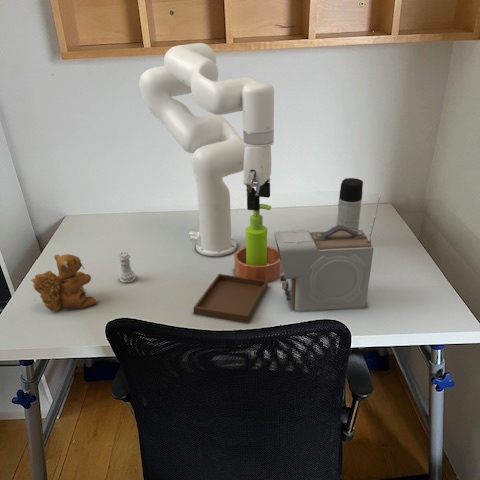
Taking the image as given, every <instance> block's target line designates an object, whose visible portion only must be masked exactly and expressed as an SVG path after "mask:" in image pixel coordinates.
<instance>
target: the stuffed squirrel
mask: <svg viewBox="0 0 480 480" xmlns="http://www.w3.org/2000/svg"><path fill="white" fill-rule="evenodd" d="M53 257H54V261H55V262H56V268H57V270H58V275H57V274H55V273H54V272H52V270H47V271H45V272H44V273H38V274H36V275H34V278H32V279H31V282H32V283H33V284H32V286H33V289H34V290H35V292H37V293H39V294H40V296H39V297H40V298H41V301H42V302H43V303H44V306H45V307H46V308H47V309H48V310H50V311H54V312H58V311H60V310H61V309H63V308H69V309H84V308H88V307H91V306H94V305H96V304H97V301H98V300H97V298H96V297H94V296H87V294H86V290H85V288H84V286H85V285H87V284H89V283H90V282H91V280H92V276H91V274H89V273H85V272H83V271H80V269H81V268H82V269H83V270H85V267H84V265H83V263H82V260H81V258H80V257H79V256H77V255H75V254H62V255H59V254H55V255H54V256H53Z"/></svg>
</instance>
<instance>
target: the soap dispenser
mask: <svg viewBox="0 0 480 480" xmlns="http://www.w3.org/2000/svg"><path fill="white" fill-rule="evenodd" d="M271 209H272V205H269V204H265V203H260V209H259V211H254V210H252V215H250V216H249V224H250V225H248V226H247V227H246V228H245V247H246V264H247V265H253V266H265V265H268V262H267V246H268V228H267V227H266V226H265V225H264V223H263V222H264V218H263V215H261V213H260V212H261V211H260V210H266V211H270V210H271Z"/></svg>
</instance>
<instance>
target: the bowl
mask: <svg viewBox="0 0 480 480" xmlns="http://www.w3.org/2000/svg"><path fill="white" fill-rule="evenodd" d="M233 259H234V274H235V275H234V276H237V277H244V278H251V279H258V280H265V281H268V283H269V282H274V281H275V280H277V279H278V278H280V274H281V273H283V270H282V266H281V263H280V259H279V254H278V249H277V247H276V248H275V247H273V246H270V245H267V265H265V266H253V265H247V264H246V246H245V247H242V248H240V249H238V250H237V251H235V254H234V258H233Z"/></svg>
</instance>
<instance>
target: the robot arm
mask: <svg viewBox="0 0 480 480" xmlns="http://www.w3.org/2000/svg"><path fill="white" fill-rule="evenodd" d="M163 57H164V58H163V64H164V65H159V66H154V67H151V68H149V69H146V70H144V72H143V73H142V74H141V75H140V77H139V81H138V87H139V92H140V95H141V98H142V100H143V102H144V105H145V106H146V108H147V109H148V110H149V112H150V113H151V114H152V115H153V116H154V117H155V118H156V119H157V120H158V121H160V122H161V123H162V124H163V125H164V126H165V128H166V129H167V131H168V132H169V134H171V136H172V137H173V138H174V139H175V140H176V142H177V144H178V145H179V146H180V147H181V148H182V149H183V150H184V151H185V152H187V153H188V154H192V156H191V166H192V170H193V175H194V178H195V184H196V192H197V193H196V195H197V205H198V207H197V209H198V221H199V223H198V224H199V231H193V230H189V232H188V237H189V241H196V244H195V249H196V251H197V252H198V253H199V254H201V255H203V256H207V257H222V256H227V255H229V254H232V253H233V252H236V249H237V247H238V246H237V245H238V244H237V241H236V240H235V239H233V238H232V219H231V217H232V216H231V192H230V189H229V187H228V186H227V184H226V183H225V182H224V179H223V178H225V177H228V176H230V175H235V174H238V173H241V172H243V178H242V179H243V185H244V186H245V187H246V210H248V211H253V210H254V211H259V209H260V204H261V201H260V200H261V199H260V198H270V197H271V174H272V145H274V142H275V141H274V140H275V138H274V136H275V135H274V133H275V132H274V130H275V89H274V86H273V85H272V84H271V83H269V82H266V81H265V82H264V81H258V80H256V79H254V78H252V77H248V76H247V77H238V78H233V79H226V80H220V81H218V78H219V69H218V66H217V57H216V54H215V51H214V50H213V48H212V46H210V45H208V44H206V43H203V42H196V43H195V42H194V43H187V44H179V45H175V46H172V47H171V48H169V49H168V50H167V51H166V52H165V55H164V56H163ZM189 94H192V97H193V99H194V101H195V104H196V105H198V107H200V108H202V109H203V110H205V111H207V112H208V113H211V114H208V115H202V116H198V115H197V116H196V115H195V114H193V112H192V111H191V110H190V109H189V107H188V106H187V105H185V104H184V103H183V102H181V101H179V100H178V99H176V98H173V97H177V96H183V95H189ZM238 112H242V131H243V132H242V135H243V136H242V137H241V135H239V133H238V132H237V130H236V129H234V127H233V126H232V125H231V123H229V121H228V120H227V119H226V118H225V117H223V115H229V114H233V113H238ZM260 210H261V209H260Z"/></svg>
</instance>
